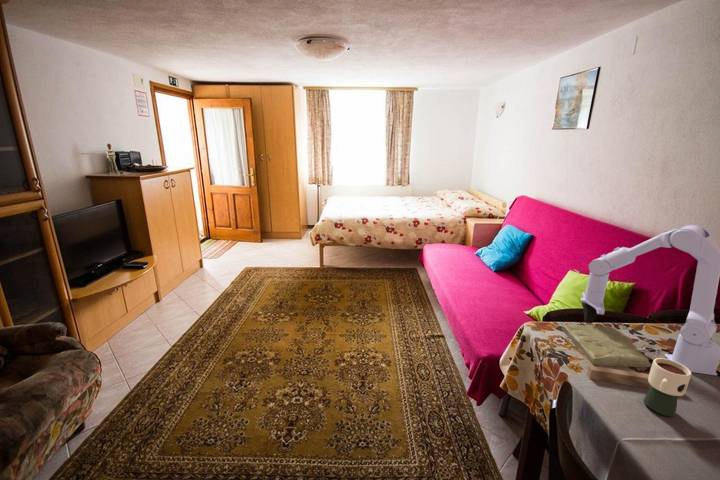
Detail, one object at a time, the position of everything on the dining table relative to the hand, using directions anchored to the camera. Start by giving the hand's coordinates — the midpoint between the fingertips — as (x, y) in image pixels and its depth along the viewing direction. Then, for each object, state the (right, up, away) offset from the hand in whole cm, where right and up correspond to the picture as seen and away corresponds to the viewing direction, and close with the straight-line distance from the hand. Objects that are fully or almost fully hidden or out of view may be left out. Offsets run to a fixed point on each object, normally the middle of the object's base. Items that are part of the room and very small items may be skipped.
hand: (588, 322), depth 124 cm
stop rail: (-8, -10, -29) cm, 32 cm away
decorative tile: (-4, -6, -13) cm, 14 cm away
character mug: (-8, -13, -38) cm, 41 cm away
